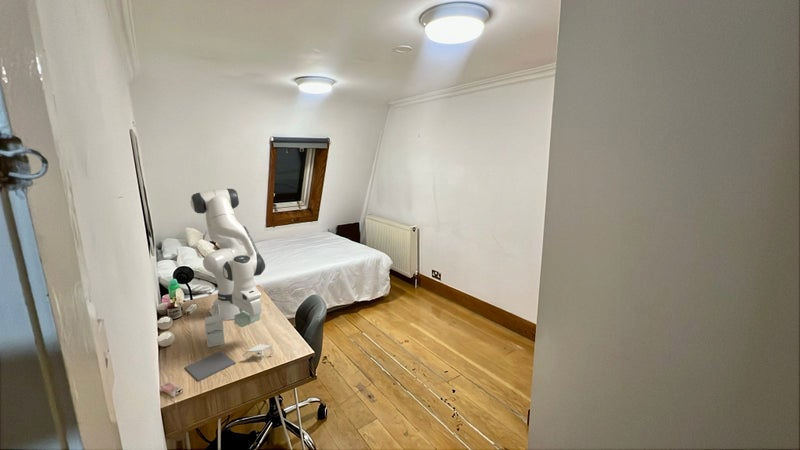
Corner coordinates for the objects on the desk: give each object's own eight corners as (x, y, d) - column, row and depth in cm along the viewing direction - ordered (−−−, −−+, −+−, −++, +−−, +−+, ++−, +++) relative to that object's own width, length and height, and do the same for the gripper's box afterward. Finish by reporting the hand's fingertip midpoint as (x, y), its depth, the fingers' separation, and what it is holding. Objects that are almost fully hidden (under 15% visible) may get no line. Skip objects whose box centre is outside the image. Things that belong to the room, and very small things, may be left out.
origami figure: (269, 348, 158) (268, 339, 157) (274, 356, 152) (274, 347, 151) (241, 358, 151) (240, 348, 150) (246, 367, 145) (245, 356, 144)
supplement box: (207, 348, 159) (204, 323, 156) (207, 340, 165) (204, 316, 162) (225, 344, 162) (222, 320, 159) (224, 336, 168) (222, 313, 166)
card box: (234, 323, 157) (234, 315, 157) (253, 316, 164) (252, 308, 164) (241, 327, 154) (240, 319, 153) (259, 320, 161) (259, 312, 160)
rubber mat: (184, 368, 144) (184, 366, 144) (220, 352, 156) (220, 350, 155) (198, 381, 136) (198, 380, 135) (235, 363, 147) (235, 362, 147)
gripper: (227, 287, 160) (229, 314, 163) (249, 299, 147) (252, 327, 150) (240, 283, 164) (242, 309, 167) (263, 294, 152) (265, 322, 155)
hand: (247, 318), depth 159 cm, fingers closed on card box, 6 cm apart
